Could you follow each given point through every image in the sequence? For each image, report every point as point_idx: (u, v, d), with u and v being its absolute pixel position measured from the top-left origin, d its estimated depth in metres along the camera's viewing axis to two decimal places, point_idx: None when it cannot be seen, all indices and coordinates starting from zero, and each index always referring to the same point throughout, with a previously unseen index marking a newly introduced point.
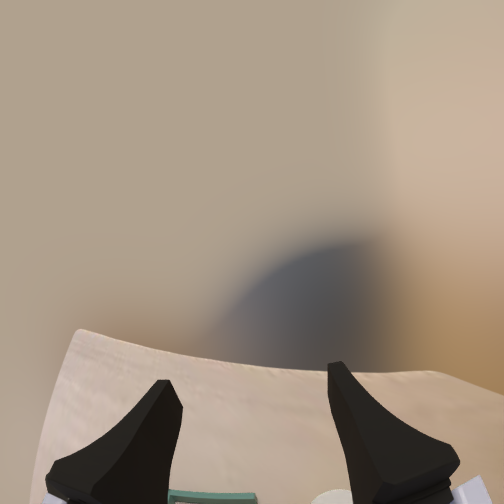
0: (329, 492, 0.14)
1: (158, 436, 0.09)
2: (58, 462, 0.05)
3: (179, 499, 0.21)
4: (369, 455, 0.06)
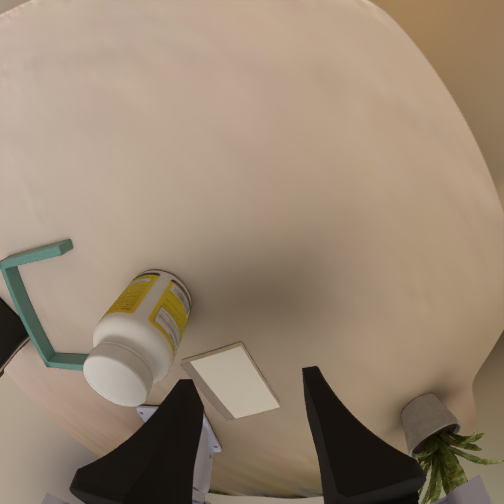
0: (96, 360, 0.12)
1: (183, 438, 0.09)
2: (82, 471, 0.05)
3: None
4: (329, 464, 0.06)
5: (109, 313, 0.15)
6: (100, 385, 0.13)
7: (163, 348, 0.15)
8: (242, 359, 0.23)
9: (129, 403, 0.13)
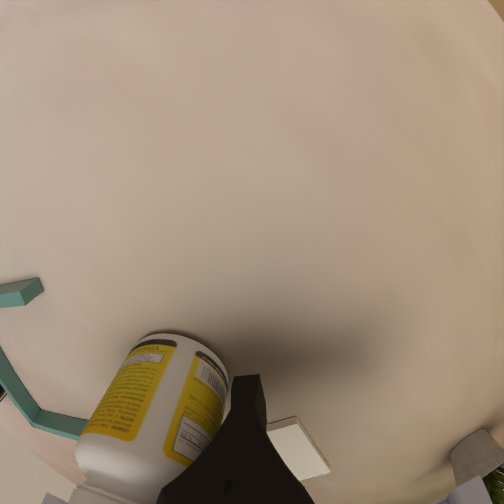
0: None
1: None
2: (169, 490, 0.05)
3: None
4: (220, 474, 0.06)
5: (93, 432, 0.07)
6: None
7: None
8: (296, 436, 0.15)
9: None
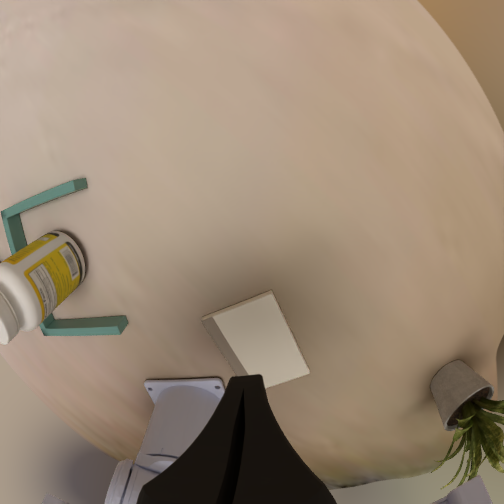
0: None
1: (243, 437, 0.09)
2: (149, 487, 0.05)
3: (18, 213, 0.19)
4: (239, 474, 0.06)
5: (2, 262, 0.14)
6: None
7: (29, 299, 0.14)
8: (272, 311, 0.21)
9: (1, 341, 0.12)
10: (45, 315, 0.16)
